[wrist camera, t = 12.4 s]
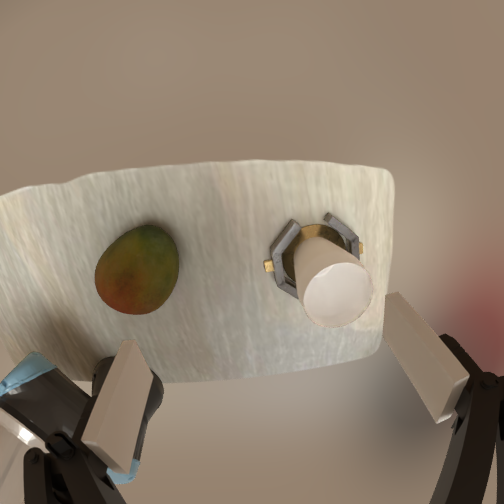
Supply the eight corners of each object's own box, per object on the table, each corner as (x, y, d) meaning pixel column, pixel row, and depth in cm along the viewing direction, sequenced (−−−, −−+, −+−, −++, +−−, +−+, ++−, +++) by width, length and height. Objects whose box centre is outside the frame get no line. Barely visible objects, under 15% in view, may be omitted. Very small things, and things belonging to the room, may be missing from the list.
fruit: (105, 277, 44) (80, 309, 34) (120, 205, 40) (91, 224, 30) (171, 301, 46) (158, 340, 36) (193, 231, 42) (182, 257, 32)
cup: (282, 283, 45) (296, 329, 34) (288, 226, 42) (308, 259, 31) (337, 284, 46) (364, 327, 35) (347, 230, 43) (382, 262, 32)
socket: (270, 301, 47) (272, 309, 45) (257, 225, 42) (258, 229, 40) (362, 283, 46) (367, 289, 44) (359, 207, 42) (365, 211, 40)
